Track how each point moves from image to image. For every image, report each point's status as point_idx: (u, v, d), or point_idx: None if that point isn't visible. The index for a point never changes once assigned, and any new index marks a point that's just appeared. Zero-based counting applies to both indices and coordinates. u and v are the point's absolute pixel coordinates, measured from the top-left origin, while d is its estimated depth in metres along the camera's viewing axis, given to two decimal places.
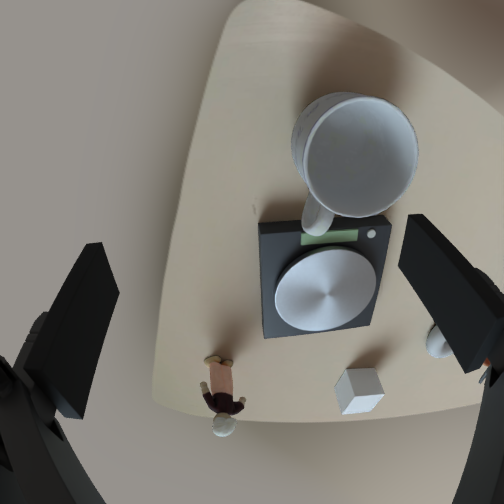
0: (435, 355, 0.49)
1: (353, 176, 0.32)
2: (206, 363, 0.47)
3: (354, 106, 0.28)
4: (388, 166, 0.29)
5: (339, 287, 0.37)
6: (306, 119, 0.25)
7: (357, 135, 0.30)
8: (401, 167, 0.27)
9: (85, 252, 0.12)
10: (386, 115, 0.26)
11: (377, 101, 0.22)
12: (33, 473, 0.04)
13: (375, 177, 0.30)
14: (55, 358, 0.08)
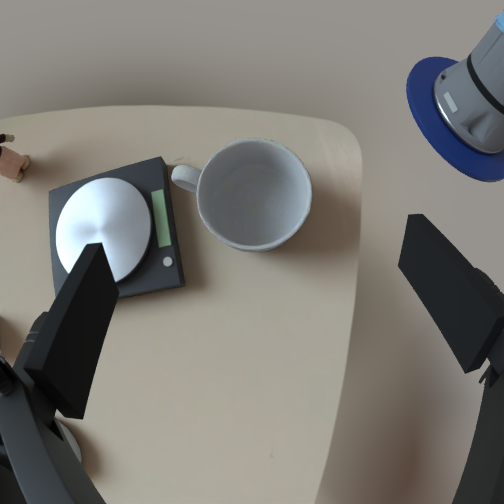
0: None
1: (223, 229, 0.35)
2: (23, 155, 0.38)
3: (289, 213, 0.36)
4: None
5: (107, 240, 0.33)
6: None
7: (262, 226, 0.36)
8: None
9: (85, 252, 0.12)
10: (294, 226, 0.32)
11: (308, 188, 0.30)
12: (33, 473, 0.04)
13: None
14: (55, 358, 0.08)
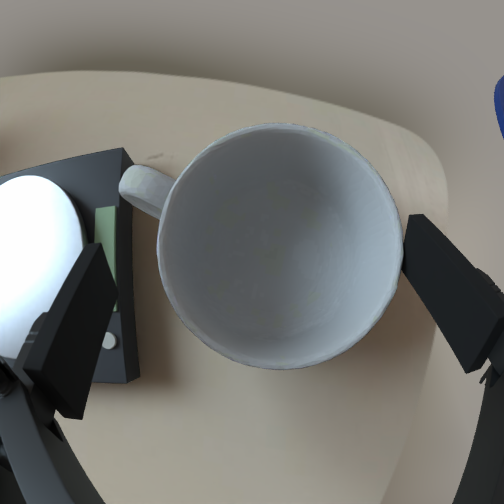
0: None
1: (213, 294, 0.19)
2: None
3: (334, 275, 0.19)
4: (250, 341, 0.16)
5: (16, 283, 0.16)
6: None
7: (285, 293, 0.20)
8: (264, 351, 0.14)
9: (84, 252, 0.12)
10: (349, 310, 0.16)
11: (396, 243, 0.13)
12: (32, 473, 0.04)
13: (221, 324, 0.17)
14: (54, 359, 0.08)
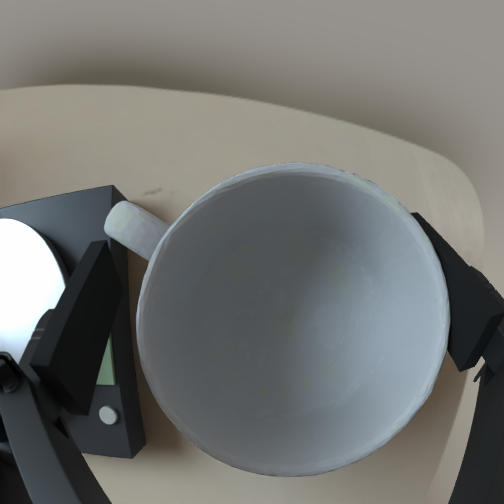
0: None
1: (212, 357, 0.16)
2: None
3: (358, 348, 0.15)
4: (247, 423, 0.13)
5: (2, 347, 0.13)
6: None
7: (297, 364, 0.16)
8: (259, 444, 0.11)
9: (90, 249, 0.12)
10: (369, 399, 0.12)
11: (440, 335, 0.10)
12: (38, 470, 0.05)
13: (216, 397, 0.14)
14: (61, 354, 0.08)
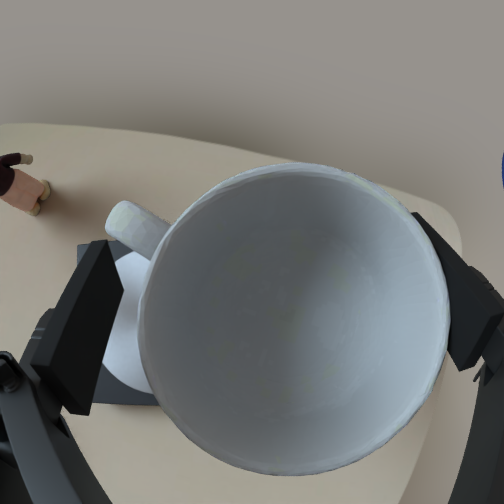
0: None
1: (213, 357, 0.16)
2: (42, 180, 0.31)
3: (358, 348, 0.15)
4: (247, 422, 0.13)
5: None
6: None
7: (298, 363, 0.16)
8: (260, 444, 0.11)
9: (90, 249, 0.12)
10: (369, 399, 0.12)
11: (440, 335, 0.10)
12: (39, 470, 0.05)
13: (217, 396, 0.14)
14: (62, 354, 0.08)
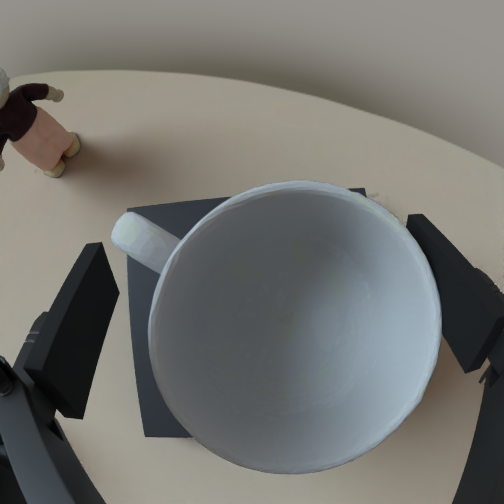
0: None
1: (215, 358, 0.16)
2: (69, 132, 0.24)
3: (353, 350, 0.16)
4: (249, 421, 0.13)
5: None
6: None
7: (295, 363, 0.17)
8: (262, 443, 0.11)
9: (85, 252, 0.12)
10: (363, 400, 0.13)
11: (432, 347, 0.10)
12: (33, 473, 0.04)
13: (220, 397, 0.14)
14: (55, 358, 0.08)
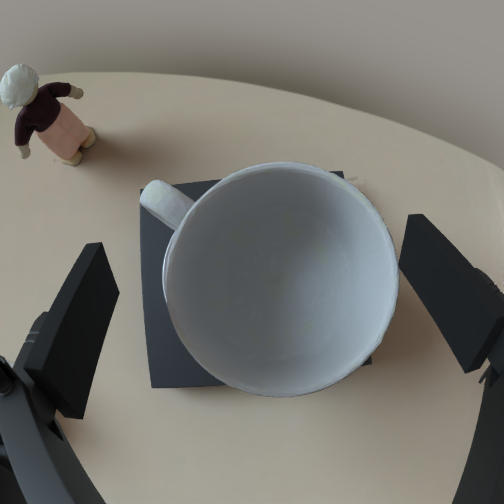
0: None
1: (214, 308, 0.20)
2: (85, 126, 0.27)
3: (331, 310, 0.20)
4: (239, 360, 0.17)
5: None
6: None
7: (282, 319, 0.20)
8: (249, 373, 0.15)
9: (85, 252, 0.12)
10: (336, 348, 0.17)
11: (390, 299, 0.14)
12: (33, 473, 0.04)
13: (216, 339, 0.18)
14: (55, 358, 0.08)
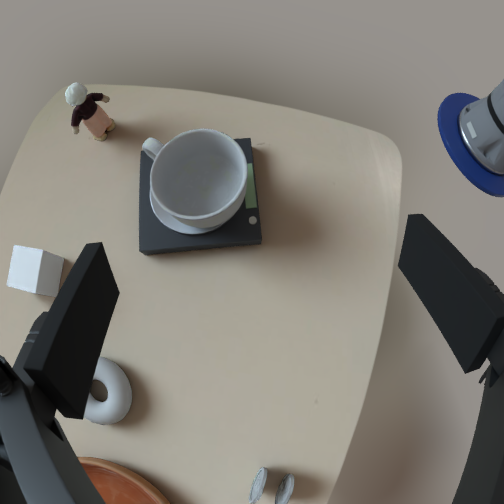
0: None
1: (173, 201, 0.40)
2: None
3: None
4: None
5: None
6: None
7: (207, 208, 0.40)
8: None
9: (85, 252, 0.12)
10: None
11: (243, 181, 0.34)
12: (33, 473, 0.04)
13: None
14: (55, 358, 0.08)
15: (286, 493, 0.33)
